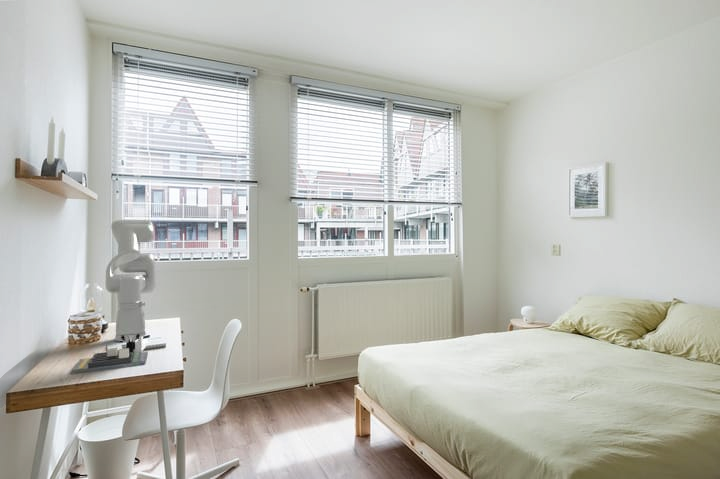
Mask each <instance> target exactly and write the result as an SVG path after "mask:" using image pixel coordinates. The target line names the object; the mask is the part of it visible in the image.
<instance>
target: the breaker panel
mask: <svg viewBox="0 0 720 479" xmlns="http://www.w3.org/2000/svg"><path fill="white" fill-rule="evenodd" d="M148 356H149V351H142V352H134V349H133V352H129V357H128V358H120V359H119V350H118V354H117V356H111V357H107V351H106V352H98V353H97V352H95V353H94V354H93V356H91V358H90V357H87V358H82V359H81V358H80V359H79V360H78V362H77V363H76V364H75V365H74V366H73V367H72V370H71V374H81V373H87V372H97V371H104V370H111V369H112V370H113V369H118V368H119V369H121V368H127V367H135V366H143V365H146V363H147V358H148Z"/></svg>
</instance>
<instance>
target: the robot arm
mask: <svg viewBox="0 0 720 479" xmlns="http://www.w3.org/2000/svg"><path fill="white" fill-rule="evenodd" d="M111 231H112V235H113V237H114V239H115V241H116V242H117V254H116V255H115V256H114V257H113V258H111V260H110V261H109V262H108V264H107V266H106V269H105V289H106V291H107V293H108V292H109V293H111V294H112V293H113V294H115V293H116V295H117V296H116V297H117V312H116V320H115V336H114V341H115V342H120V341H123V340H124V341H125V342H126V348H129V352H133V349H135V341H136V340H137V339H138V338H139V337H141V336H144V337H145V336H146V334H147V332H146V331H145V330H146V318H145V311H144V308H143V307H146V306H145V305H146V303H145V302H142V300H141V299H142V298H141V297H142V296H141V295H142V294H150V293H154V291H155V290H156V283H157V276H156V275H157V274H156V272H157V271H156V259H155V256H154V254H152V253H148V252H143V253H142V252H141V245H140V244H141V243H151V242H153V241H154V239H155V233H156V232H155V226H154V224H153V222H152V221H151V220H146V219H145V220H144V219H143V220H142V219H119V220H114V221H112V223H111ZM117 269H119V271H120V272H122V273H125V274H122V273H121V274H115V271H116V270H117ZM141 273H144V274H141ZM130 340H131V341H130Z"/></svg>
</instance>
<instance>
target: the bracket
mask: <svg viewBox="0 0 720 479" xmlns="http://www.w3.org/2000/svg"><path fill="white" fill-rule="evenodd" d="M130 341H131V340H130ZM123 343H126V342H125V341H124V340H123V342H122V344H123ZM147 343H148V344H149V338H144V337H143V336H141V337H139V339H137V340H136V341H135V349H134V353H137V352H144V350H145V349H146V348H147V346H148V345H147ZM146 345H147V346H146Z"/></svg>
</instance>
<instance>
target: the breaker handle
mask: <svg viewBox="0 0 720 479" xmlns="http://www.w3.org/2000/svg"><path fill="white" fill-rule="evenodd" d="M118 351H119V359H120V358H128V357H129V348H125V349H122V348H119V349H118Z"/></svg>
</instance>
